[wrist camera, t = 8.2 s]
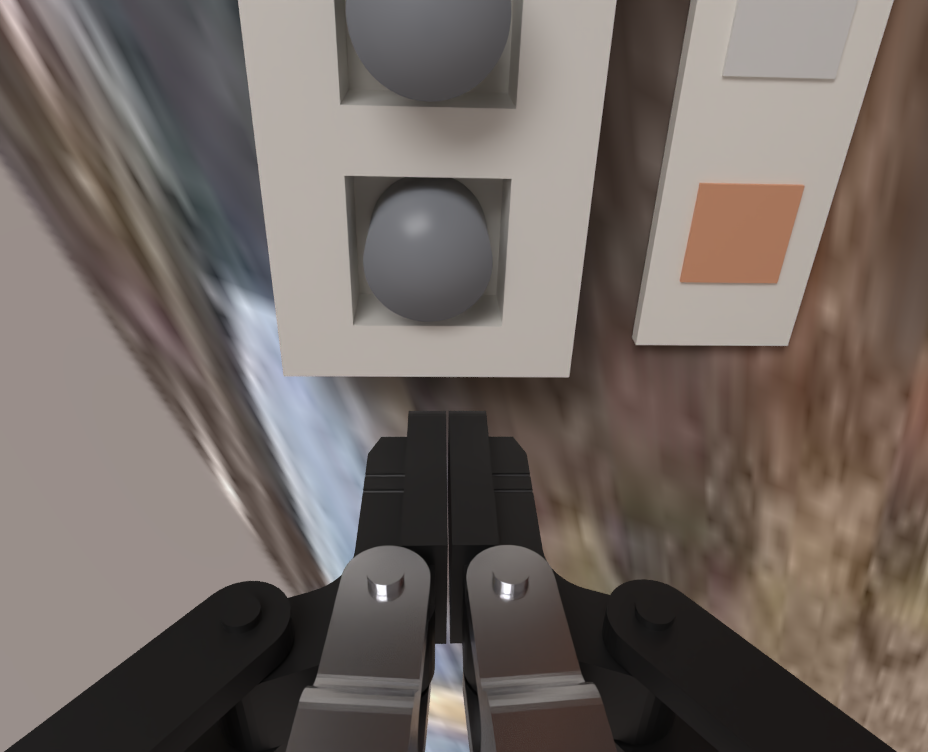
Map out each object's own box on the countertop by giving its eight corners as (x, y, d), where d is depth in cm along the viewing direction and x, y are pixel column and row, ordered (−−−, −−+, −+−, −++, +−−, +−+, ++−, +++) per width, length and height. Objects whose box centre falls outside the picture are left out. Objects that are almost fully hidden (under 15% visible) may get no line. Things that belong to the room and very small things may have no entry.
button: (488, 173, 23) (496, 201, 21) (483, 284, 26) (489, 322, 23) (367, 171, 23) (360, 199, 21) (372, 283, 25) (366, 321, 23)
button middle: (504, -78, 19) (516, -82, 16) (496, 83, 21) (506, 103, 18) (352, -84, 18) (340, -88, 16) (359, 80, 21) (349, 100, 18)
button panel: (657, -582, 16) (702, -684, 13) (556, 337, 28) (569, 377, 25) (196, -616, 15) (149, -730, 13) (297, 335, 27) (283, 376, 25)
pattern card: (1047, -553, 16) (1073, -574, 15) (781, 338, 28) (789, 347, 27) (790, -572, 16) (805, -594, 15) (632, 337, 28) (636, 346, 27)
